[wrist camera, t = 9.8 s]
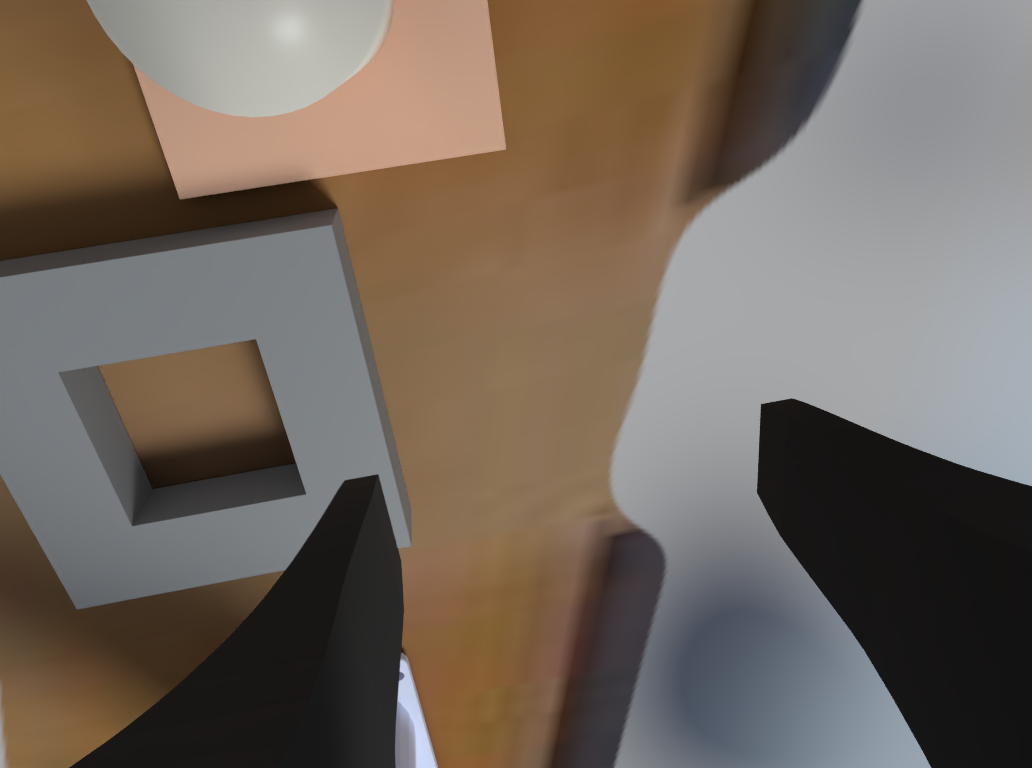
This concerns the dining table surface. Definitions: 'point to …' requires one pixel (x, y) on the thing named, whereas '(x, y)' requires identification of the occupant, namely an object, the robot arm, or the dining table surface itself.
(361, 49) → the plug
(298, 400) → the grey square frame
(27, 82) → the dining table surface
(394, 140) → the tile
